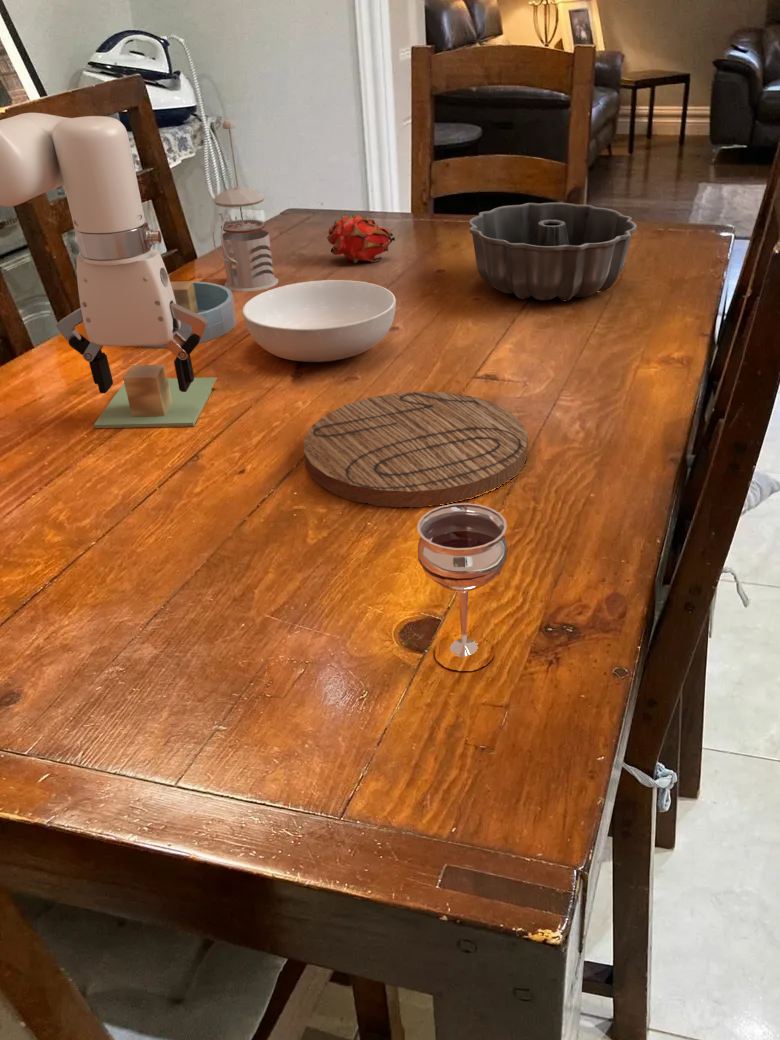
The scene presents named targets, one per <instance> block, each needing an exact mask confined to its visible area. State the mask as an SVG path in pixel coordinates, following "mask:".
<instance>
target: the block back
mask: <svg viewBox="0 0 780 1040" xmlns="http://www.w3.org/2000/svg"><path fill="white" fill-rule="evenodd" d="M193 282H194V281H192V280H190V281H189V280H187V281H185V280H184V281H170V283H171V286H172V290H173V293H174V297H175V300H176V304H177V305H179V306H182V307H184V308H186V309H188V310H190V311H193V312H195V313H199V311H198V306H197V300H196V295H195V289H194V284H193Z"/></svg>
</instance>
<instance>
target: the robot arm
mask: <svg viewBox="0 0 780 1040" xmlns="http://www.w3.org/2000/svg"><path fill="white" fill-rule="evenodd" d="M61 187H64V191H65V196H66V199H67V203H68V208H69V212H70V217H71V221H72V224H73V229H74V232H75V233H74V234H75V237H76V241H77V246H78V248H79V252H80V253H79V255H78V256H77V257H76V279H77V280H76V281H77V291H78V298H79V306H80V307H79V308H78V309H76V310H74V311H73V312H71V313H69V314H67V315H66V316H65V317H63V318H61V319H60V320H59V321H58V322H57V323H56V328H57V330H58V331H59V332H60V334H61V335H62V336H63V337H64V339H65V340H67V341H68V344H69V346H70V347H71V348H72V349H74V350H75V351H76V352H78V353H79V354H80V355H81V356H82V358H83V360H84V361H86V362H88V364H89V368H90V371H91V376H92V379H93V383H94V384H95V385H97V387H98V391H99V393H100V394H106V393H107V392H108V391H109V390H110V389H111V387H112V386H113V384H114V379H113V376H112V372H111V368H110V364H109V363H110V362H109V360H108V356H107V354H106V352H103V351H102V349H103V348H104V347H140V346H150V345H165V346H166V347H167V348H166V349H167V350H169V351H170V352H171V353H172V354H173V355H174V356H176V358H175V359H174V361H173V365H174V370H175V374H176V378H177V380H178V385H179V390H180V391H181V392H186V391H187V390H188V388H189V386H190V384H191V382H193V381H194V378H195V373H194V368H193V362H192V356H191V353H192V352H193V351H194V350H195V349H196V347H197V346H198V345H199V344H200V343H199V342H200V340H201V338H202V335H203V332H204V329H205V327H206V324H207V319H206V318H205V317H204V316H201V315H199V314H197V313H195V312H193V311H190V310H188V309H186V308H184V307H182V306H179V305H177V304H176V300H175V297H174V293H173V290H172V286H171V283H170V282H171V280H170V277H169V273H168V271H167V268H166V265H165V262H164V260H163V258H162V254H161V253H160V251H159V250H158V249H155V248H152V247H153V246H155V244H157V245H158V244H162V239H163V238H162V234H161V231H160V230H153V229H151V228H150V227H149V224H148V223H149V222H147V221H146V218H145V213H144V208H143V202H142V197H141V193H140V187H139V183H138V178H137V172H136V167H135V162H134V158H133V153H132V147H131V143H130V139H129V134H128V131H127V128H126V126H125V125H124V124H123V123H122V122H121V121H120V120H119V119H117V118H115V117H111V116H105V115H89V116H87V115H86V116H78V117H77V116H76V117H64V116H59V115H53V114H49V113H43V112H25V113H20V114H17V115H16V114H15V115H13V116H11V117H7V118H3V119H0V207H8V208H9V207H15V206H18V205H21V204H23V203H26V202H28V201H30V200H32V199H34V198H36V197H38V196H40V195H43V194H45V193H48V192H50V191H53V190H56V189H57V188H61ZM180 321H181V322H184V323H186V324H188V325H190V326H191V328H192V331H191V334H190V336H189V337H188V339H187V340H186V339H185V338H184V337H183V336H182V335H181V334H180V333H179V332H178V330H179V329H180V326H181V324H180ZM82 322H83V325H84V329H85V330H84V331H85V333H86V336H87V338H86V337H85V336H83V335H82V334H81V333H79V332H78V330H77V328H76V326H77V325H79V324H80V323H82ZM198 343H199V344H198Z"/></svg>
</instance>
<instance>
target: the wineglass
mask: <svg viewBox="0 0 780 1040" xmlns="http://www.w3.org/2000/svg"><path fill="white" fill-rule="evenodd" d="M416 525H417V526H416V527H417V528H416V529H417V533H418V535H420V537H419V539H418V543H417V560H418V562H419V565H420V566H421V569H422V570H423V572H424V573H425V575H426V576H427V577H428V578H429V579H430V580H431V581H433V582H435V583H437V584H438V585H439V586H441V587H442V588H444V589H447V590H449V591H454V592H457V593H458V607H459V620H460V622H459V623H460V634H461V637H462V639H459V640H456V641H454V642H453V643H452V644H451V646H450V651H451V653H456V654H458V655H455V656H458V657H462V658H464V657H466V656H468V655H472V654H474V653H475V652H476V651H477V649H478V646H477V645H478V643H475V641H473V640H471V639H467V634H468V616H469V615H468V614H469V613H468V611H469V610H468V609H469V607H468V606H469V592H471V591H475V590H479V589H481V588H483V587H484V586H486V585H487V584H489V583H490V582H491V581H493V580H494V579H496V578H497V577H498V575H499V574H500V573H501V571H502V569H503V567H504V565H505V562H506V560H507V555H508V545H507V544H508V543H507V540H506V536H505V533H506V531H507V529H508V525H507V520H506V518H505V517H504V516H503V515H502V513H500V512H499V511H497V510H495V509H493V508H491V507H488V506H485V505H483V504H476V503H470V502H469V503H468V502H458V503H452V504H447V505H442V506H437V507H435V508H433V509H430V510H429V511H427V512H426V513H425V514H423V515H422V516H421V517H420V518H419V520H418V522H417V524H416Z"/></svg>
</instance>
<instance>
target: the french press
mask: <svg viewBox="0 0 780 1040" xmlns="http://www.w3.org/2000/svg"><path fill="white" fill-rule="evenodd" d="M222 129H223V130H228V134H229V135H228V136H229V141H230V148H231V155H232V156H231V157H232V163H233V170H234V176H235V183H236V186H235V187H232V188H228V189H225V190H224V191H222V192H219V194H218V195H216V196H215V198H214V199H213V203H214V204H215V205H216V206H218V207H222V208H239V211H240V219H235V220H232V217H231V214H230V213H228V214H226V215H225V216H224V217H223V213H222V212H220V213H218V214H217V215H216V217H215V218H214V222H213V226H212V242H213V247H214V249H215V252H216V254H217V256H218V257H219V258H220V259H221V260H222V261H223V263H224V269H225V274H226V281H225V282H224V285H223V286H224V287H226V288H228V289H230V290H231V291H235V292H255V291H262V290H267V289H270V288H272V287H275V286H276V285H277V284H278V283H279V279H278V278H277V277H275V274H274V273H273V272H274V266H273V265H272V264H273V258H272V257H271V256H272V251H271V249H270V248H271V242H270V233H269V232H268V231H267V230H264V229H265V227H266V223H265V222H264V221H263V220H260V219H253V218H252V219H250V218H249V219H246V218H245V219H244V216H243V211H242V208H243V207H249V206H255V205H258V204H260V203H262V202H264V200H265V198H266V197H265V195H264V194H263V193H261V192H259V191H258V190H257V189H256V190H255V189H253V188H249V187H242V186H239V182H238V175H237V169H236V162H235V154H234V146H233V140H232V132H231V130H233V129H236V124H235V122H234V121H233V120H232V119H226V120H224V121H223V123H222ZM219 217H220V219H221V221H222V225H221V226H220V243H221V250H222V255H221V254H220V252H219V249H218V248H217V244H216V239H215V229H216V223H217V221H218V218H219ZM227 218H229V221H228V220H227ZM229 242H231V244H229ZM230 250H232V251H233V252H231V251H230ZM222 256H223V257H222ZM232 258H233V259H232ZM233 266H235V267H233Z"/></svg>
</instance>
